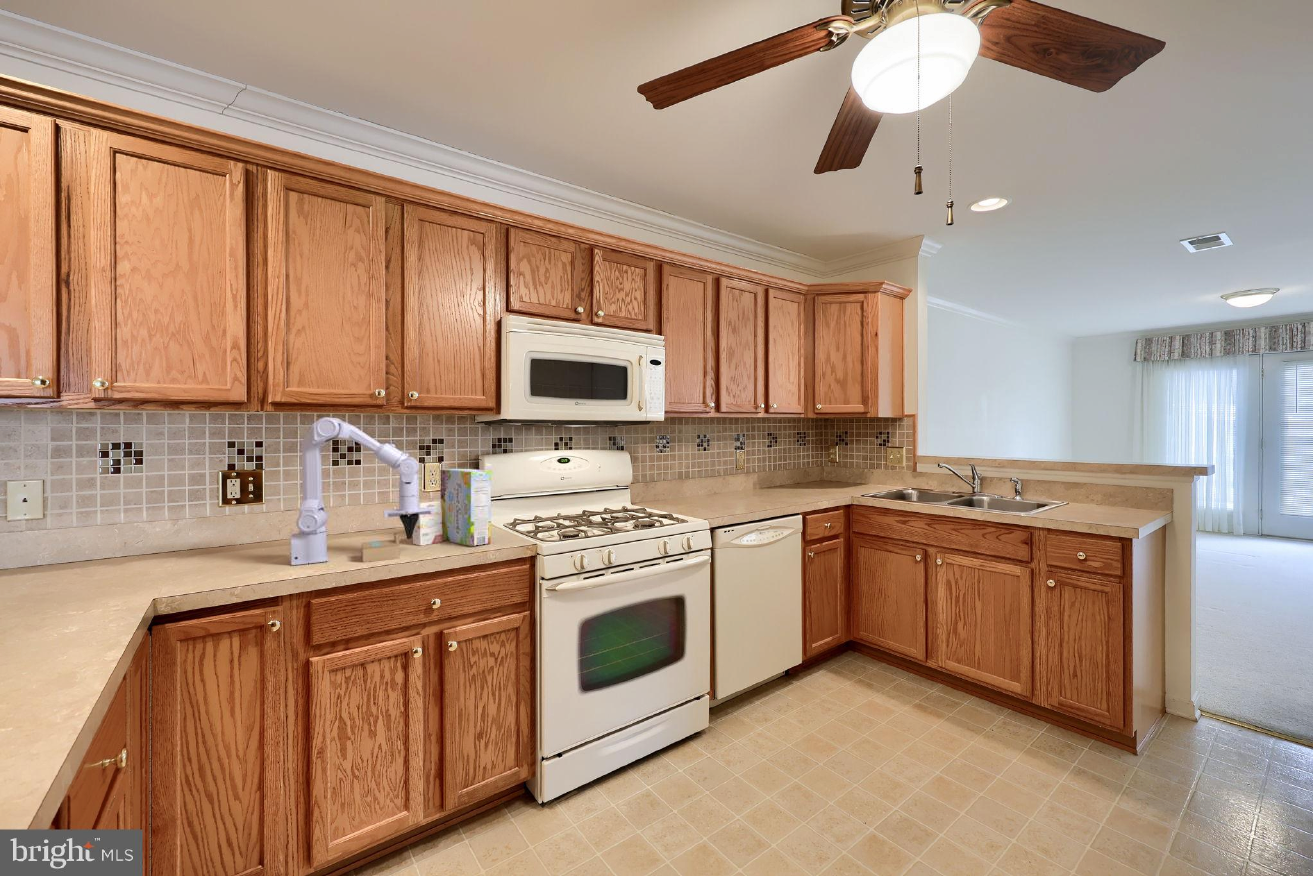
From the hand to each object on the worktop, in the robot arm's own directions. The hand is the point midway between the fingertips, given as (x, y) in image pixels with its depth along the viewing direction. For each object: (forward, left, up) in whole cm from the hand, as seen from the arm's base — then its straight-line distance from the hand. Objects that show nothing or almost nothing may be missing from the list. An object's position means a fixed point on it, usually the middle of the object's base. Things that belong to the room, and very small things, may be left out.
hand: (409, 538), depth 178 cm
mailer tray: (-8, 0, -5) cm, 10 cm away
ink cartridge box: (+8, +16, -6) cm, 19 cm away
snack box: (+20, +12, -6) cm, 24 cm away
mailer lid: (-8, 0, -1) cm, 8 cm away
